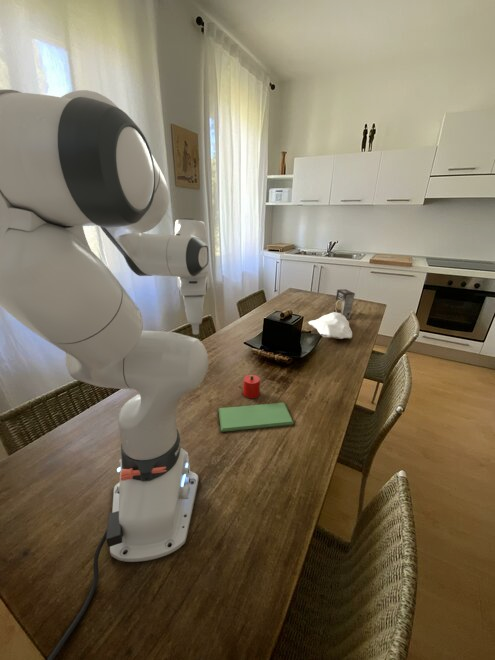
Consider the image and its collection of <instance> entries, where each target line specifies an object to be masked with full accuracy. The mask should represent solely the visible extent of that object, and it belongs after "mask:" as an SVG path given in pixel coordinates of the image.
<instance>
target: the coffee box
mask: <svg viewBox="0 0 495 660" xmlns="http://www.w3.org/2000/svg"><path fill="white" fill-rule="evenodd" d="M355 294H356V293H355V292H352V291H350V290H348V289H337V291H336V296H335V302H334V307H333V308H334V309H333V312H336V313H340V314H342V315H343V316H345V318H346V319H347V320H348V319H351V315H352V310H353V305H354V299H355Z"/></svg>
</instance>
